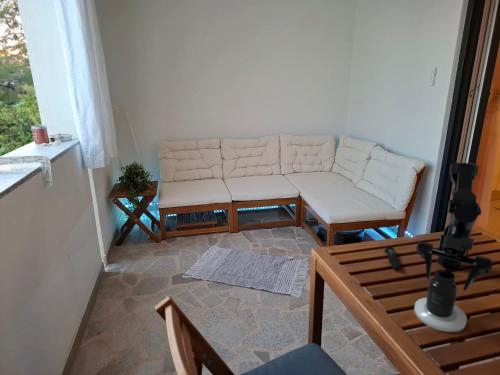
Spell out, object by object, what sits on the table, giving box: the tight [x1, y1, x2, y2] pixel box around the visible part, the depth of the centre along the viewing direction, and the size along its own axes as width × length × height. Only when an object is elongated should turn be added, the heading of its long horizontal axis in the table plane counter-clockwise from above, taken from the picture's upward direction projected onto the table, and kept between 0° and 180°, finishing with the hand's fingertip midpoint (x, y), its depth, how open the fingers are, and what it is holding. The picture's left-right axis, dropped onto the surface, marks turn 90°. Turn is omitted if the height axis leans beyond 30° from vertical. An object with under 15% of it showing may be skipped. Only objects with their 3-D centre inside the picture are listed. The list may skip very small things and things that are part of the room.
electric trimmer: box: [384, 246, 402, 271], centre depth 123 cm, size 4×16×3 cm, turn 168°
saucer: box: [413, 297, 468, 333], centre depth 93 cm, size 13×13×2 cm
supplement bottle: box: [426, 269, 458, 317], centre depth 92 cm, size 7×7×12 cm
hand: (445, 284), depth 93 cm, fingers open, 9 cm apart
